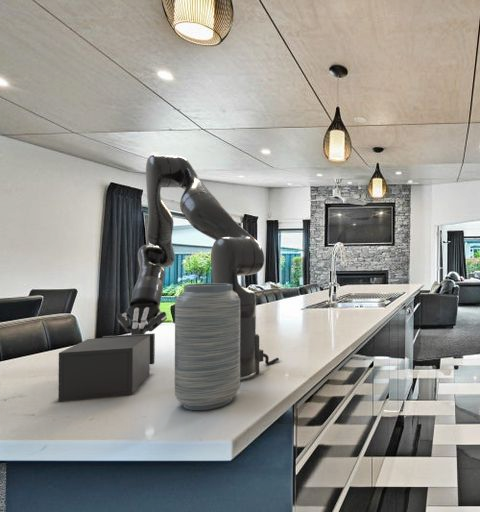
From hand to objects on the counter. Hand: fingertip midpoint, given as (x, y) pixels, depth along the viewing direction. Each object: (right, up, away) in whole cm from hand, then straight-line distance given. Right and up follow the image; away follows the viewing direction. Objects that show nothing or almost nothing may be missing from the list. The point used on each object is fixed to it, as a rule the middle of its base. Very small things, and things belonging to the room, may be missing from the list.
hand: (135, 342), depth 105 cm
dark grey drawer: (+3, -4, -10) cm, 11 cm away
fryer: (+7, -5, -20) cm, 22 cm away
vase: (+33, -5, -29) cm, 44 cm away
